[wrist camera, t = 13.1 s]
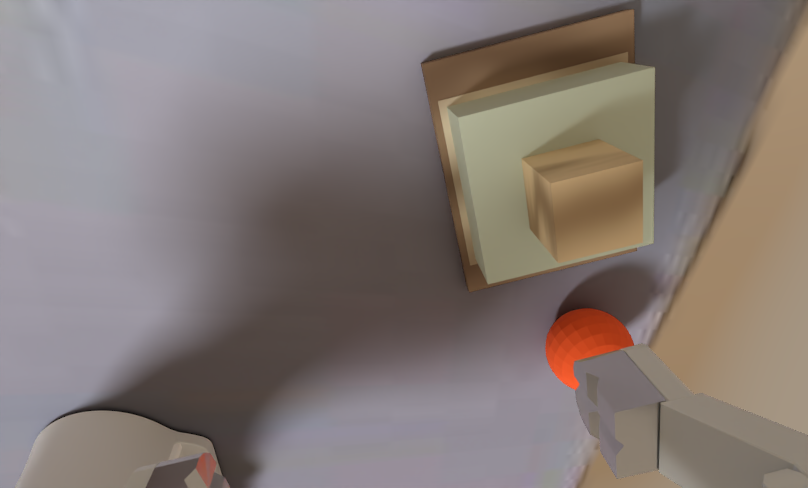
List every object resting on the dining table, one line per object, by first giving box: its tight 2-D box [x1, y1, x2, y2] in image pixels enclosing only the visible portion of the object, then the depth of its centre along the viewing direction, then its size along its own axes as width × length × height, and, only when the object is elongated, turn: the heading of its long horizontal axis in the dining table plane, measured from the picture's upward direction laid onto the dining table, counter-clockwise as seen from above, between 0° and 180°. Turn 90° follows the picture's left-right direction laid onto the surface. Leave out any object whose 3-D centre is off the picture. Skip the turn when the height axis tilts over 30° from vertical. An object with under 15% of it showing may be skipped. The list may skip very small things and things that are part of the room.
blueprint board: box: [421, 9, 637, 292], centre depth 34 cm, size 18×14×1 cm
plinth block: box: [447, 62, 655, 284], centre depth 32 cm, size 12×12×4 cm
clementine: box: [545, 308, 634, 390], centre depth 39 cm, size 8×7×7 cm
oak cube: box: [521, 139, 643, 263], centre depth 28 cm, size 5×5×5 cm
